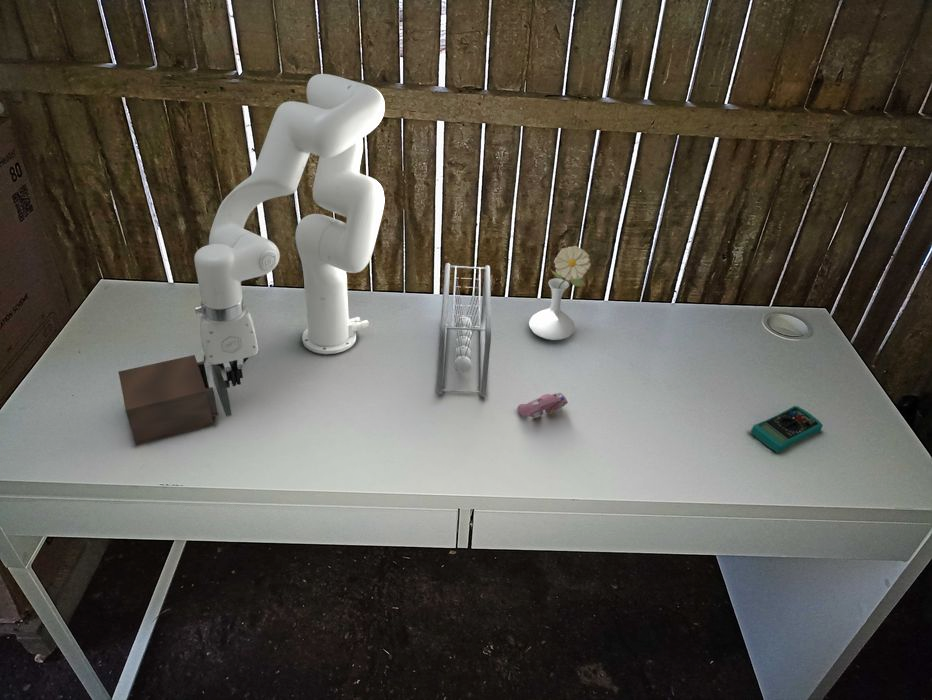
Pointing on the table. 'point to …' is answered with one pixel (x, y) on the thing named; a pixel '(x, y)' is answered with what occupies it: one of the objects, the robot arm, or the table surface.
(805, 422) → the digital multimeter
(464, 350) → the newton's cradle
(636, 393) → the table surface
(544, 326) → the flower in vase
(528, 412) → the pink toy car
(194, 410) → the cabinet
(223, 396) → the drawer
